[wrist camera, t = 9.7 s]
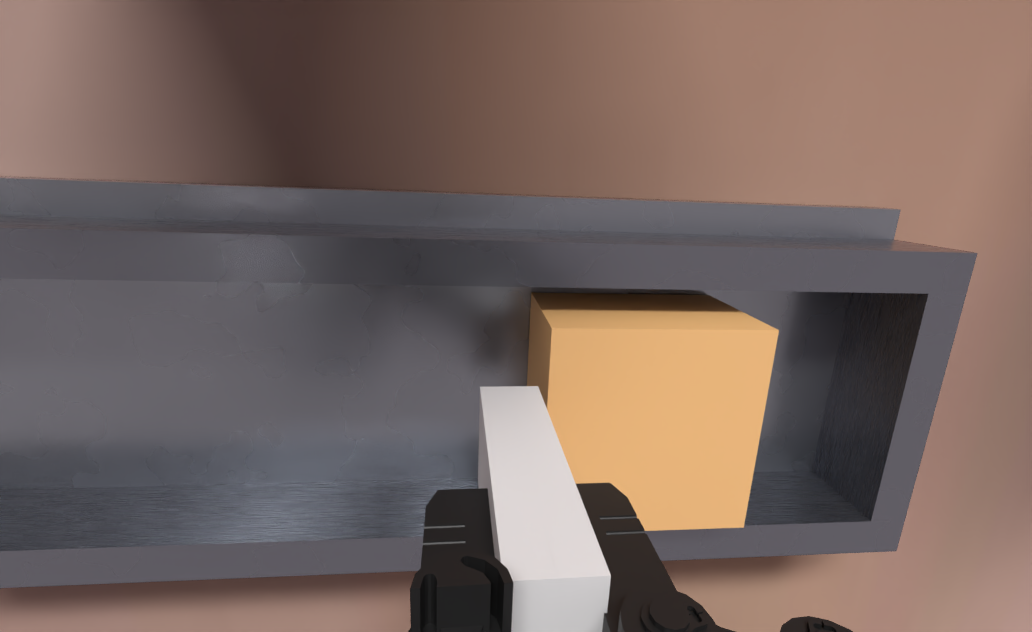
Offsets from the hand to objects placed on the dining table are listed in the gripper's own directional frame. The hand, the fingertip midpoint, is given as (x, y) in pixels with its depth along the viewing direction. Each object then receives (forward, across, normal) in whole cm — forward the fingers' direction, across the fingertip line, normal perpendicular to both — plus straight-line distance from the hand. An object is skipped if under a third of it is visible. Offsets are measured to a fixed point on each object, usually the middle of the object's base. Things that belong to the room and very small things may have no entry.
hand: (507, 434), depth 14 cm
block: (+4, +4, 0) cm, 6 cm away
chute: (+5, -3, 0) cm, 6 cm away
